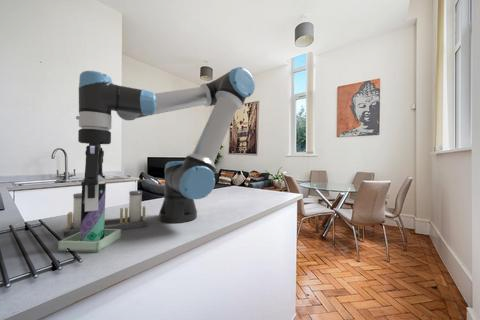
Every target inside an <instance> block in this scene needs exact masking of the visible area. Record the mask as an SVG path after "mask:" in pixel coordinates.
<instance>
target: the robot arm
mask: <svg viewBox="0 0 480 320" xmlns="http://www.w3.org/2000/svg"><path fill="white" fill-rule="evenodd" d="M78 82H79V83H78V115H76V116H75V119H76V120H78V127H79V128H80V129H78V131H77V133H78V136H77V137H78V138H77V139H78V140H77V141H78V142H79V143H80V144H88V145H86V147H85V153H84V154H85V164H84V165H85V167H84V177H83V179H84V182H83V181H81V183H80V184H81V187H82V186H84V185H85V212H86V211H97V210H98V185H97V184H98V173H99V175H101V177H103V178H104V179H106V176H105V175H104V173H103V163H104V155H105V151H104V150H103V147H101V146H102V145H110V144H111V143H112V132H111V131H110V130H111V129H112V111H114V112H116V115H117V116H118V117H119V118H120V119H122V120H125V121H129V122H130V121H135V120H137V119H139V118H144V117H148V116H149V117H150V116H153V115H159V114H164V113H169V112H174V111H179V110H184V109H190V108H195V107H200V106H205V107H212V106H213V109H212V110H211V113H210V115H209V117H208V118H207V121H206V124H205V126H204V128H203V130H202V132H201V134H200V137H199V138H198V141H197V144H196V146H195V148H194V150H193V152H192V153H190V154H188V155H186V157H185V159H184V160H177V161H176V160H175V161H168V162H166V164H165V165H164V166H165V167H164V193H163V194H164V195H163V196H164V197H163V198H164V199H163V202H162V204H161V207H160V210H159V213H158V219H159V221H160V222H161V221H162V222H165V223H176V224H177V223H178V224H179V223H186V222H191V221H194V220H196V219H197V218H198V209H197V206H196V203H195V200H201V199H204V198H206V197H208V196H209V195H210V194H211V193H212V191H213V190H214V188H215V184H216V178H215V172H216V169H217V167H216V165H215V161H216V159H217V157H218V154H219V152H220V149H221V147H222V144H223V143H224V141H225V138H226V135H227V133H228V131H229V128H230V126H231V123H232V122H233V120H234V116H235V115H236V112H237V111H238V110H240V109H242V107H243V105H244V103H245V100H246V99H247V98H250V97H251V96H252V95H253V94H254V91H255V89H256V88H255V87H256V84H255V81H254V77H253V75H252V74H251V72H250V71H249V70H247V69H246V68H244V67H242V66H240V67H239V66H238V67H235V68H232V69H231V70H230V71H228V72H227V73H225V74H223V75H221V76H219V77H218V78H217V79H214V80H212V81H210V82H207V83H202V84H201V85H199V86H198V87H191V88H185V89H177V90H169V91H163V92H156V93H154V92H153V91H149V90H145V89H140V88H133V87H130V86H129V87H128V86H123V85H118V84H114V83H113V79H112V77H111V76H109V75H108V74H106V73H102V72H100V71H95V70H84V71H82V72H80V74H79V81H78Z"/></svg>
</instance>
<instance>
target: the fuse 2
mask: <svg viewBox="0 0 480 320" xmlns="http://www.w3.org/2000/svg"><path fill="white" fill-rule="evenodd" d="M128 195H129V203H128V205H129V206H128V208H129V209H128V217H129V222H128V223H135V222H141V216H142V201H143V200H142V199H143V198H142V197H143V196H142V195H143V191H142V190H130V191H129V192H128Z"/></svg>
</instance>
